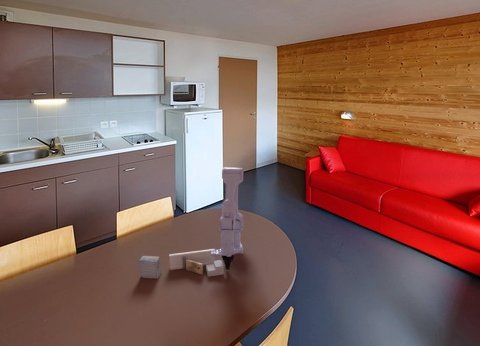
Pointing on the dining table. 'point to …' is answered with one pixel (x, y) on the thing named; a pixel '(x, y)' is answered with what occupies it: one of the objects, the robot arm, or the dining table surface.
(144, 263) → the medicine box
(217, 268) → the pale grey notched block
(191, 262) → the door
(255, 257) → the dining table surface
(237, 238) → the robot arm
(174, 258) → the wall shelf
